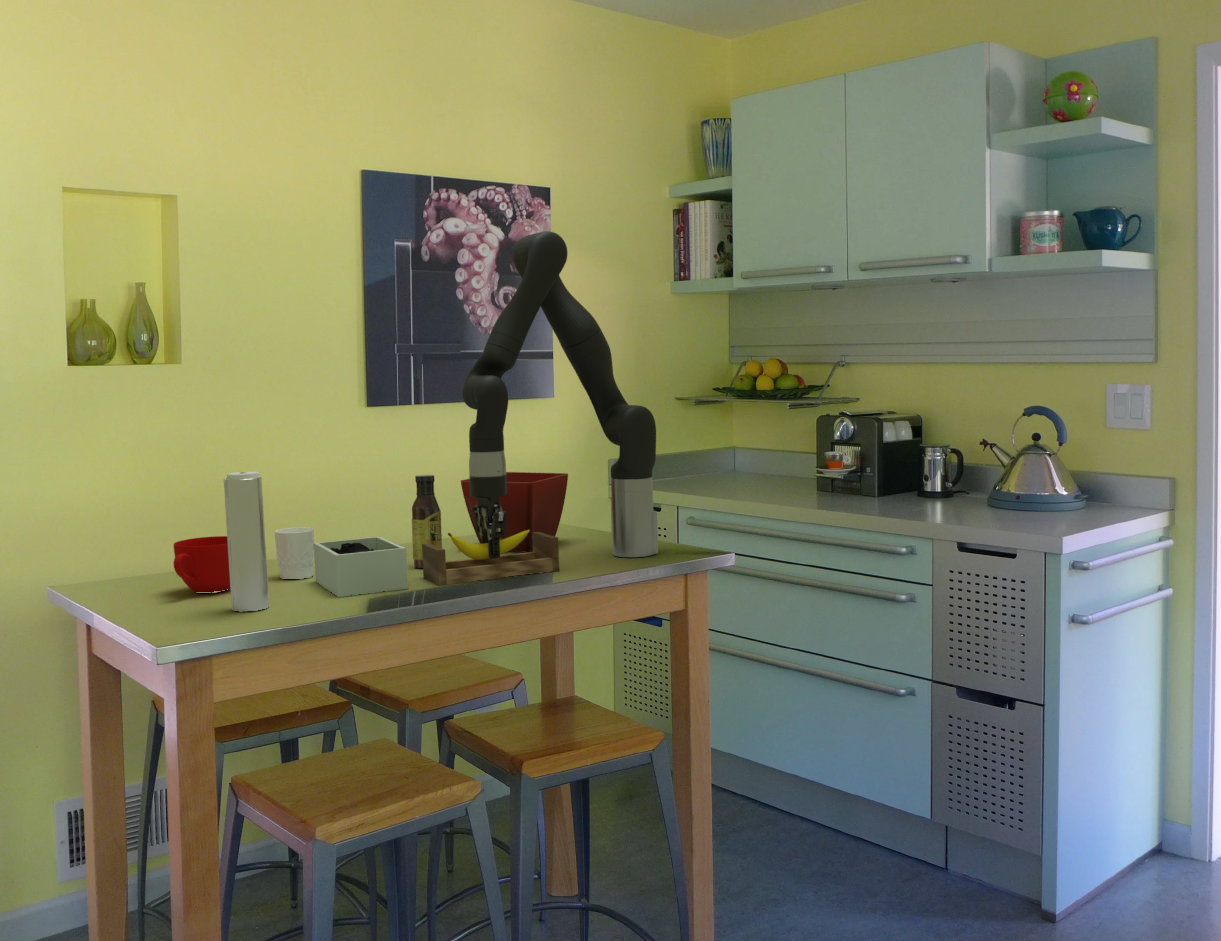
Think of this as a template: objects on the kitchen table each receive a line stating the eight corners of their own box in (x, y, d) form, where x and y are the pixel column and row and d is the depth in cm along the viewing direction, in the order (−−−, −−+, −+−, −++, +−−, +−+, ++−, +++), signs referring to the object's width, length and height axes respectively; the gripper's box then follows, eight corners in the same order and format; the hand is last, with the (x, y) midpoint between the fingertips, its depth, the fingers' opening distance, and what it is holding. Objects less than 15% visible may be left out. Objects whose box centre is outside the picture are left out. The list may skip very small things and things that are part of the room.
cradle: (539, 563, 242) (538, 531, 242) (559, 570, 233) (558, 537, 233) (423, 577, 230) (421, 543, 230) (439, 585, 222) (437, 550, 221)
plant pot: (533, 555, 253) (530, 481, 251) (461, 552, 261) (458, 480, 260) (572, 542, 270) (570, 472, 269) (503, 539, 278) (501, 471, 277)
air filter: (236, 605, 208) (228, 471, 206) (272, 604, 209) (264, 470, 206) (228, 613, 202) (219, 474, 199) (264, 611, 202) (256, 473, 200)
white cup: (324, 574, 237) (321, 527, 236) (299, 581, 230) (296, 533, 229) (294, 572, 241) (291, 526, 240) (269, 579, 233) (266, 532, 233)
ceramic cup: (149, 601, 215) (145, 549, 214) (203, 583, 231) (200, 535, 230) (207, 602, 212) (204, 550, 211) (258, 585, 228) (255, 536, 227)
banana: (534, 553, 236) (533, 523, 235) (452, 565, 225) (451, 533, 224) (526, 552, 238) (525, 522, 238) (446, 563, 227) (444, 532, 227)
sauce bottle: (436, 569, 239) (432, 476, 238) (409, 569, 241) (404, 476, 239) (447, 563, 246) (443, 473, 244) (420, 563, 247) (416, 473, 245)
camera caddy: (381, 574, 236) (379, 536, 235) (407, 588, 219) (405, 548, 219) (315, 581, 230) (313, 542, 229) (338, 597, 213) (336, 555, 212)
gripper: (518, 474, 225) (521, 559, 227) (492, 469, 238) (495, 550, 239) (482, 477, 222) (486, 563, 224) (458, 472, 234) (461, 553, 236)
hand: (490, 556), depth 232 cm, fingers closed on banana, 3 cm apart
